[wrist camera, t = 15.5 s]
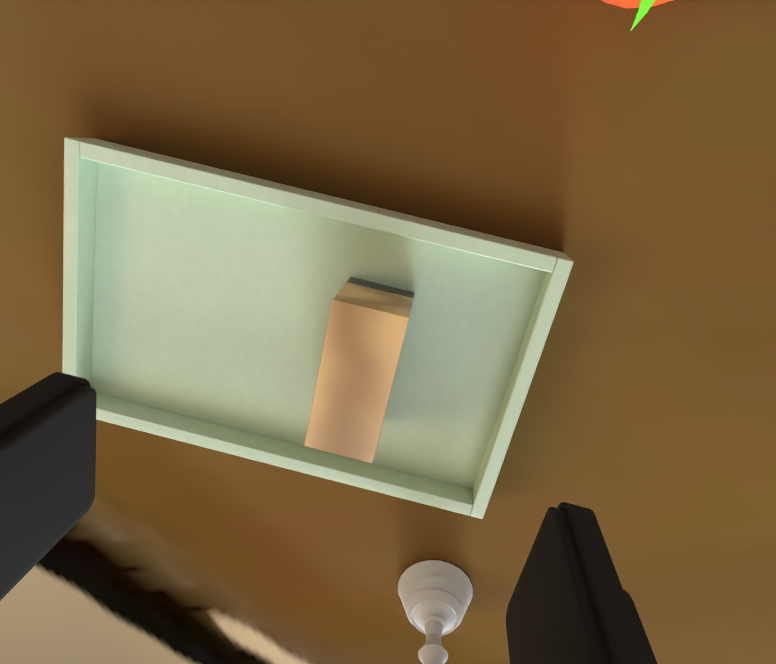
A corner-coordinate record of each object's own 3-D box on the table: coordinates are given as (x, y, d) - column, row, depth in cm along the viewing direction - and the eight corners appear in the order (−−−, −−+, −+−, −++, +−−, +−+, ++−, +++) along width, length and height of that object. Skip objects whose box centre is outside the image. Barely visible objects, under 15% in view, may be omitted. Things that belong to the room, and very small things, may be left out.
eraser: (415, 292, 28) (409, 317, 24) (383, 420, 31) (372, 464, 27) (349, 275, 28) (332, 298, 24) (323, 405, 31) (303, 446, 27)
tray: (564, 252, 27) (574, 261, 25) (480, 495, 33) (482, 519, 30) (93, 137, 28) (63, 136, 26) (86, 393, 33) (61, 410, 31)
